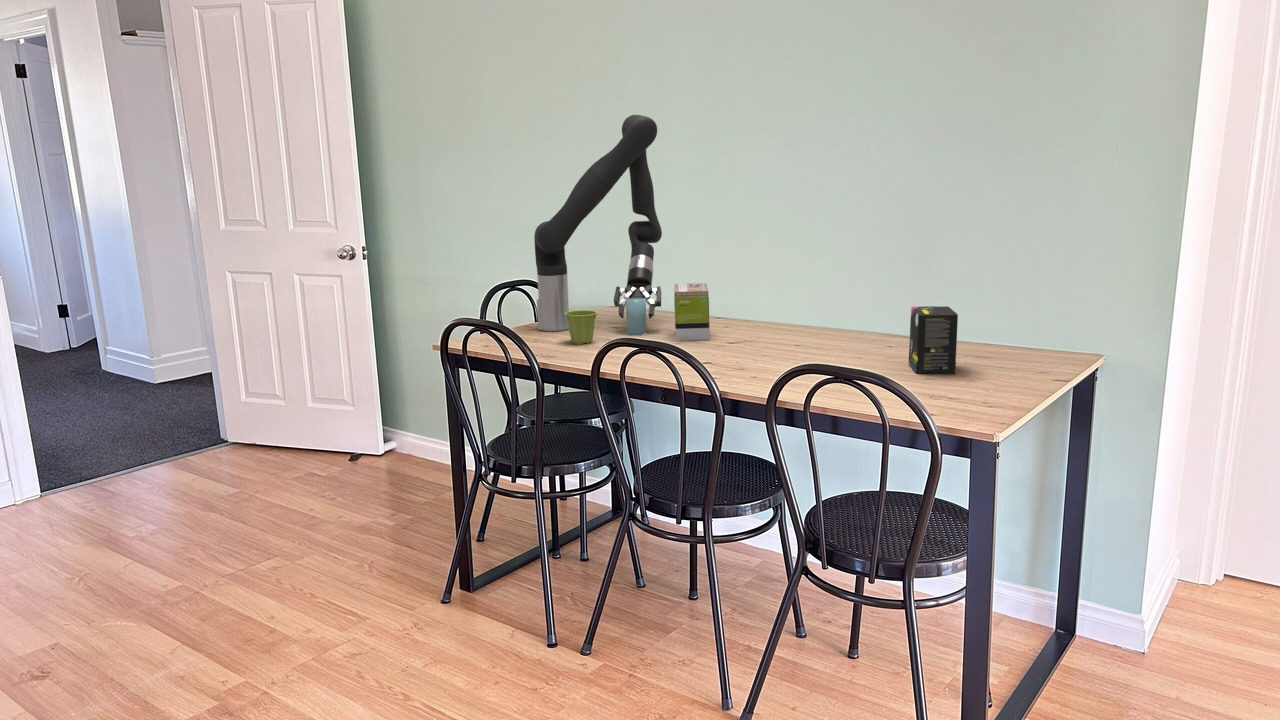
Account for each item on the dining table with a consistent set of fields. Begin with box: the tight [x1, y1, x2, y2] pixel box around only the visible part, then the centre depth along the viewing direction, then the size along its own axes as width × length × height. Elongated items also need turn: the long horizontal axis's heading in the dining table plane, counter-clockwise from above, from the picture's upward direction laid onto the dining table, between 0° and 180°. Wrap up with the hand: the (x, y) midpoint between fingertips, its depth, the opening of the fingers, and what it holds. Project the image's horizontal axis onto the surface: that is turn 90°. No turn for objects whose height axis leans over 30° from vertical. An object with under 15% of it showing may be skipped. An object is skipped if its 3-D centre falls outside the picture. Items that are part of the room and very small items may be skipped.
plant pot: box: [565, 309, 598, 345], centre depth 265 cm, size 9×9×9 cm
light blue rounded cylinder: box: [625, 298, 648, 336], centre depth 275 cm, size 6×6×10 cm
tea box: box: [673, 282, 710, 341], centre depth 269 cm, size 15×10×15 cm
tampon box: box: [908, 305, 959, 375], centre depth 221 cm, size 11×9×15 cm
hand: (635, 316), depth 274 cm, fingers open, 8 cm apart
